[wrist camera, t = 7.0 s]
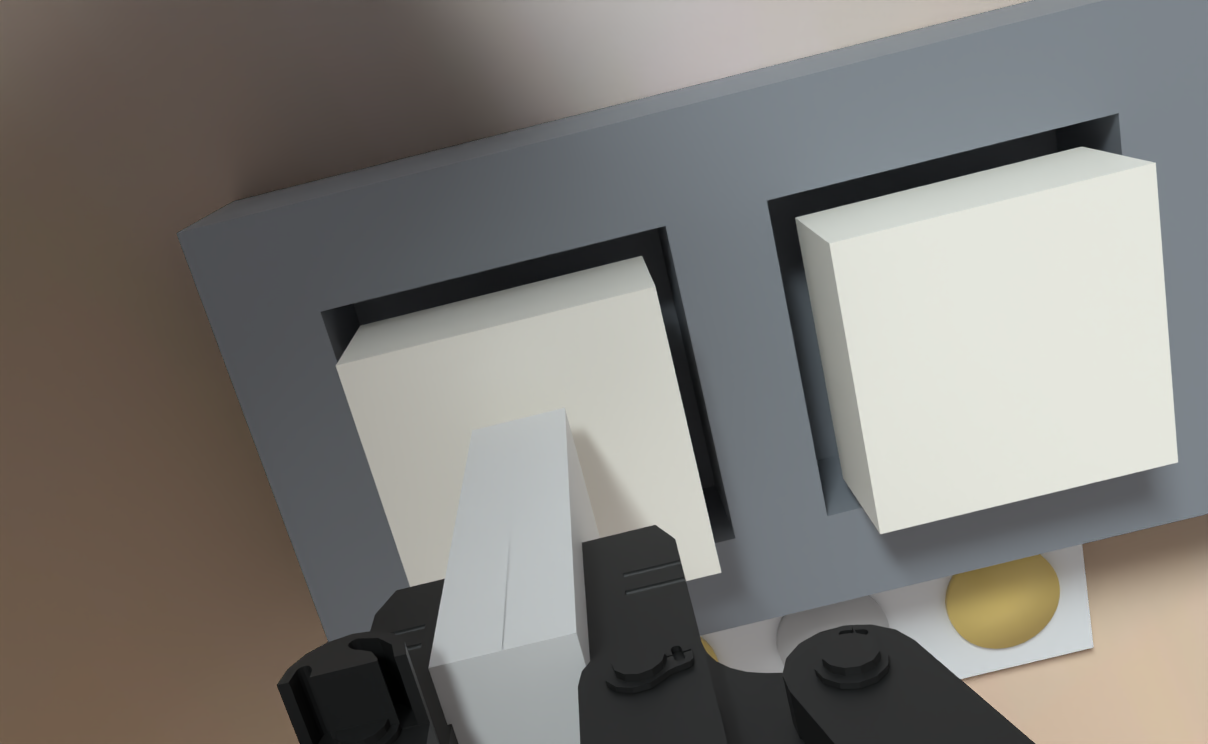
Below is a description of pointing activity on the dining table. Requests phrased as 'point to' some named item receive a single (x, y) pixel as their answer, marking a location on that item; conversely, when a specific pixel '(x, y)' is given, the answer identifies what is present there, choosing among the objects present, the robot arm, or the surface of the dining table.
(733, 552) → the board
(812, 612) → the card
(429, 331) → the button
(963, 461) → the button
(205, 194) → the dining table surface
